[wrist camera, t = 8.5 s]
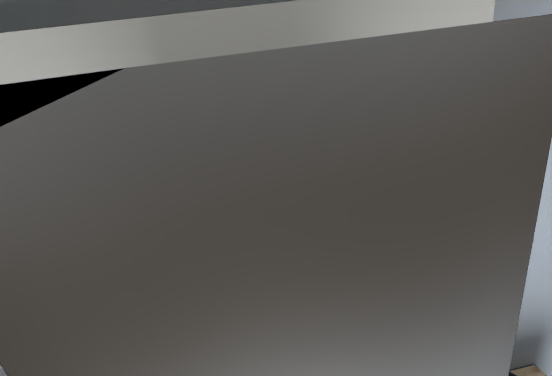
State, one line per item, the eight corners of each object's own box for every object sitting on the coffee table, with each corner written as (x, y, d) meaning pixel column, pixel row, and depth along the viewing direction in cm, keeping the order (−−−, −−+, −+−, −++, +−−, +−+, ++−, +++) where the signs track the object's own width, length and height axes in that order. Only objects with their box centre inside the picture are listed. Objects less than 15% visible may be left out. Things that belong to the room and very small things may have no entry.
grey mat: (105, 448, 14) (100, 464, 13) (-90, 47, 8) (-112, 45, 8) (447, 365, 15) (455, 376, 15) (481, -16, 10) (497, -22, 9)
